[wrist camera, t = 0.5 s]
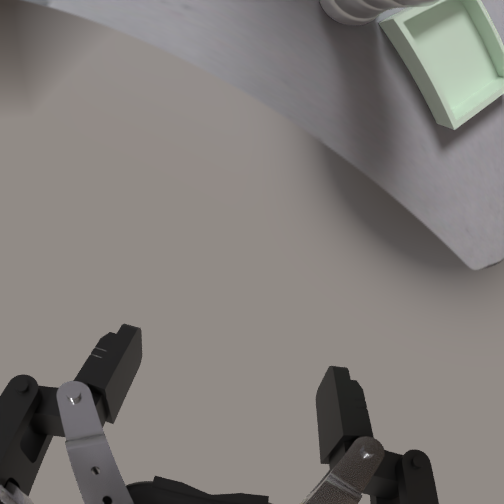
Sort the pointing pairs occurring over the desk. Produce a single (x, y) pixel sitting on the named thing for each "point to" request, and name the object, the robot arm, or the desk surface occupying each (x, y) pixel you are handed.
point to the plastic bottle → (365, 9)
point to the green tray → (450, 56)
